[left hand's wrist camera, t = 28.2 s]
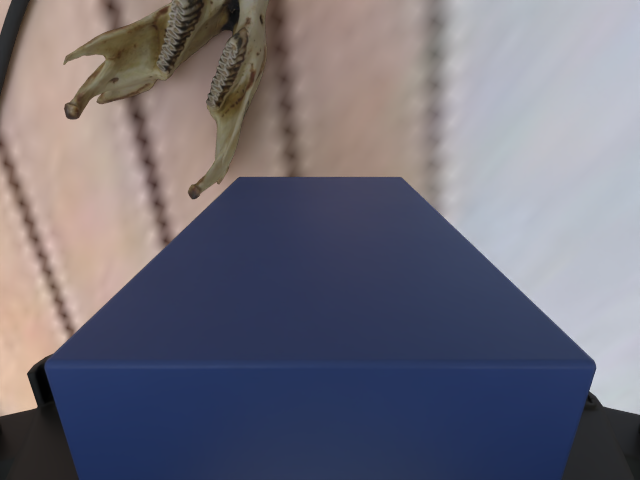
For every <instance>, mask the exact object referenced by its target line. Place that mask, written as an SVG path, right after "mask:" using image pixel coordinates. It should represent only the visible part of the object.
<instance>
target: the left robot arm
mask: <svg viewBox="0 0 640 480" xmlns="http://www.w3.org/2000/svg"><path fill="white" fill-rule="evenodd" d="M28 3H29V0H12V1H11V4H10V7H9V9H8V12H7V15H6V18H5V21H4V24H3V27H2V31H1V34H0V94H1V90H2V87H3V83H4V79H5V75H6V71H7V68H8V64H9V60H10V57H11V53H12V50H13V46H14V43H15V40H16V36H17V33H18V30H19V27H20V24H21V22H22V19H23V16H24V13H25V11H26V8H27V5H28ZM52 355H53V354H51V355H49V356H47V357H45V358H44V359H42V360H41V361H39V362H38V363H36V364H35V365H34V366H33V367H32V368H31V369H30V371H29V372H28V373H27V375H28V378H29V381H30V384H31V387H32V390H33V393H34V396H35V399H36V402H37V405H38V407H37V408H35V409H32V410H28V411H23V412H19V413H14V414H10V415H5V416H1V417H0V480H79V478H78V475H77V471H76V468H75V465H74V462H73V459H72V455H71V452H70V449H69V446H68V442H67V439H66V436H65V433H64V430H63V426H62V423H61V420H60V417H59V413H58V410H57V407H56V404H55V401H54V397H53V394H52V391H51V388H50V384H49V381H48V378H47V375H46V372H45V363H46V361H47V360H48V359H49V358H50V357H51V356H52ZM561 480H640V415H638V414H633V413H629V412H624V411H620V410H615V409H611V408H607V407H603V406H602V404H601V403H600V402H599V400H598V399H597V398H596V396H594V395H593V394H592V393H591V392H589V393H588V396H587V399H586V403H585V406H584V409H583V412H582V415H581V419H580V422H579V425H578V428H577V431H576V434H575V438H574V441H573V444H572V447H571V450H570V454H569V457H568V460H567V463H566V466H565V470H564V473H563V476H562V479H561Z"/></svg>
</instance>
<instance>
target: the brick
mask: <svg viewBox="0 0 640 480" xmlns="http://www.w3.org/2000/svg"><path fill="white" fill-rule="evenodd" d="M595 371H596V364H595V362H594V360H593V359H592V358H591V357H590V356H589V355H587V354H586V353H585V352H584V351H583V350H582V349H581V348H580V347H579V346H578V345H577V344H576V343H575V342H574V341H573V340H572V339H571V338H570V337H569V336H568V335H567V334H565V333H564V332H563V331H562V330H561V329H560V328H559V327H558V326H557V325H556V324H555V323H554V322H553V321H552V320H551V319H550V318H549V317H548V316H547V315H546V314H544V313H543V312H542V311H541V310H540V309H539V308H538V307H537V306H536V305H535V304H534V303H533V302H532V301H531V300H530V299H529V298H528V297H527V296H526V295H525V294H523V293H522V292H521V291H520V290H519V289H518V288H517V287H516V286H515V285H514V284H513V283H512V282H511V281H510V280H509V279H508V278H507V277H506V276H505V275H504V274H502V273H501V272H500V271H499V270H498V269H497V268H496V267H495V266H494V265H493V264H492V263H491V262H490V261H489V260H488V259H487V258H486V257H485V256H484V255H483V254H481V253H480V252H479V251H478V250H477V249H476V248H475V247H474V246H473V245H472V244H471V243H470V242H469V241H468V240H467V239H466V238H465V237H464V236H463V235H462V234H460V233H459V232H458V231H457V230H456V229H455V228H454V227H453V226H452V225H451V224H450V223H449V222H448V221H447V220H446V219H445V218H444V217H443V216H442V215H441V214H439V213H438V212H437V211H436V210H435V209H434V208H433V207H432V206H431V205H430V204H429V203H428V202H427V201H426V200H425V199H424V198H423V197H422V196H421V195H420V194H418V193H417V192H416V191H415V190H414V189H413V188H412V187H411V186H410V185H409V184H408V183H407V182H406V181H405V180H404V179H403V178H401V177H239V178H237V179H236V180H235V181H234V182H233V183H232V184H231V185H230V186H229V187H228V188H227V189H226V190H225V191H224V192H223V193H222V194H221V195H220V196H218V197H217V198H216V199H215V200H214V201H213V202H212V203H211V204H210V205H209V206H208V207H207V208H206V209H205V210H204V211H203V212H202V213H201V214H200V215H199V216H197V217H196V218H195V219H194V220H193V221H192V222H191V223H190V224H189V225H188V226H187V227H186V228H185V229H184V230H183V231H182V232H181V233H180V234H179V235H178V236H177V237H175V238H174V239H173V240H172V241H171V242H170V243H169V244H168V245H167V246H166V247H165V248H164V249H163V250H162V251H161V252H160V253H159V254H158V255H157V256H156V257H154V258H153V259H152V260H151V261H150V262H149V263H148V264H147V265H146V266H145V267H144V268H143V269H142V270H141V271H140V272H139V273H138V274H137V275H136V276H135V277H134V278H132V279H131V280H130V281H129V282H128V283H127V284H126V285H125V286H124V287H123V288H122V289H121V290H120V291H119V292H118V293H117V294H116V295H115V296H114V297H113V298H111V299H110V300H109V301H108V302H107V303H106V304H105V305H104V306H103V307H102V308H101V309H100V310H99V311H98V312H97V313H96V314H95V315H94V316H93V317H92V318H91V319H89V320H88V321H87V322H86V323H85V324H84V325H83V326H82V327H81V328H80V329H79V330H78V331H77V332H76V333H75V334H74V335H73V336H72V337H71V338H70V339H68V340H67V341H66V342H65V343H64V344H63V345H62V346H61V347H60V348H59V349H58V350H57V351H56V352H55V353H54V354H53V355H52V356H51V357H50V358H49V359H48V360H47V361H46V363H45V372H46V375H47V378H48V381H49V384H50V388H51V391H52V394H53V397H54V401H55V404H56V407H57V410H58V413H59V417H60V420H61V423H62V426H63V430H64V433H65V436H66V439H67V442H68V446H69V449H70V452H71V455H72V459H73V462H74V465H75V468H76V471H77V475H78V478H79V480H561V479H562V476H563V473H564V470H565V466H566V463H567V460H568V457H569V454H570V450H571V447H572V444H573V441H574V438H575V434H576V431H577V428H578V425H579V422H580V419H581V415H582V412H583V409H584V406H585V403H586V399H587V396H588V393H589V390H590V387H591V383H592V380H593V377H594V374H595Z"/></svg>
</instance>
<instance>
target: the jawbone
mask: <svg viewBox="0 0 640 480" xmlns="http://www.w3.org/2000/svg"><path fill="white" fill-rule="evenodd" d="M268 2H269V0H172V2H171V3H169V4H168V5H166V6H164V7H162V8H160V9H159V10H157V11H155V12H154V13H152V14H150V15H149V16H147V17H145V18H143V19H141V20H139V21H137V22H135V23H132V24H130V25H127V26H124V27H121V28H118V29H114V30H111V31H108V32H105V33H103V34H101V35H99V36H97V37H95V38H94V39H92V40H91V41H89V42H88V43H86V44H85V45H83V46H81V47H80V48H78V49H77V50H75V51H74V52H72V53H70V54H69V55H67V56H66V58H65V61H64V64H63V65H65V64H66V63H67V62H68V61H71V60H73V59H76V58H79V57H81V56H83V55H86V56H89V55H95V54H97V55H103V56H104V57H105V59H106V61H104V62H103V63H102V64H101V65H100V66H99V67H98V68H97V69H96V71H95V72H94V73H93V74H92V75H91V76H90V77H89V78H88V79H87V80H86V82H85V83H84V84H83V85H82V87H81V88H80V89H79V91H78V92H77V94H76V95H75V97H74V99H73V100H72V101H71V102H69V103H67V104H65V108H64V110H65V114H66V117H67V118H68V119H77V118H79V117H80V115H81V113H82V112H83V110H84V108H85V107H86V105H87V104H88V102H89V100H90V99H91V98H93V97H94V96H96V95H99V94H101V93H102V94H101V95H100V96H99V97H98V99H97V103H99V104H105V103H109V102H112V101H116V100H120V99H124V98H128V97H131V96H134V95H137V94H140V93H142V92H145V91H147V90H149V89H150V88H151V87H152V86H153V85H154V83H155V82H156V80H157V79H160V80H167V79H168V78H169V77H170V76H171V75H172V74H173V72H174V71H175V70H176V68H177V67H178V66H179V65H180V64H181V63H182V62H184V61H185V60H186V59H187V58H189V57H190V56H191V55H192V54H194V53H195V52H196V51H198V50H199V49H200V48H201V47H202V46H203V45H205V44H206V43H207V42H208V41H209V40H210V39H211V38H212V37H214V36H215V35H217V34H219V33H220V32H221V31H223V30H231V31H232V33H233V36H232V37H231V38H230V39H229V40H228V42H227V44H226V47H225V49H224V50H223V54H222V56H221V58H220V60H219V66H218V67H217V73H216V76H214V77H213V81H212V83H211V90H210V93H209V94H208V99H207V101H206V103H207V108H208V110H209V112H210V114H211V116H212V117H213V118H214V119H215V121H216V123H217V140H216V154H215V161H214V163H213V165H212V167H211V168H210V169H209V171H208V172H207V173H206V175H205V176H203V177H202V178H201V179H200V180H199V181H198V182H197V183H196V184H194V185H191V186H190V188H189V191H188V194H189V196H190V197H191V198H192V199H196V198H198V197H199V196H200V193H202V192H203V191H204V190H206V189H207V188H208V187H210V186H211V185H213V184H214V183H216V182H217V184H220V183H221V181H222V180H223V178H224V176H225V175H226V173H227V171H228V169H229V164H230V162H231V161H232V158H233V156H234V153H235V150H236V147H237V144H238V140H239V136H240V131H241V126H242V121H243V118H244V116H245V113H246V111H247V109H248V107H249V105H250V103H251V101H252V98H253V95H254V94H255V92H256V90H257V88H258V85H259V82H260V80H261V77H262V74H263V70H264V67H265V63H266V58H267V46H266V35H265V15H266V9H267V6H268Z"/></svg>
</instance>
